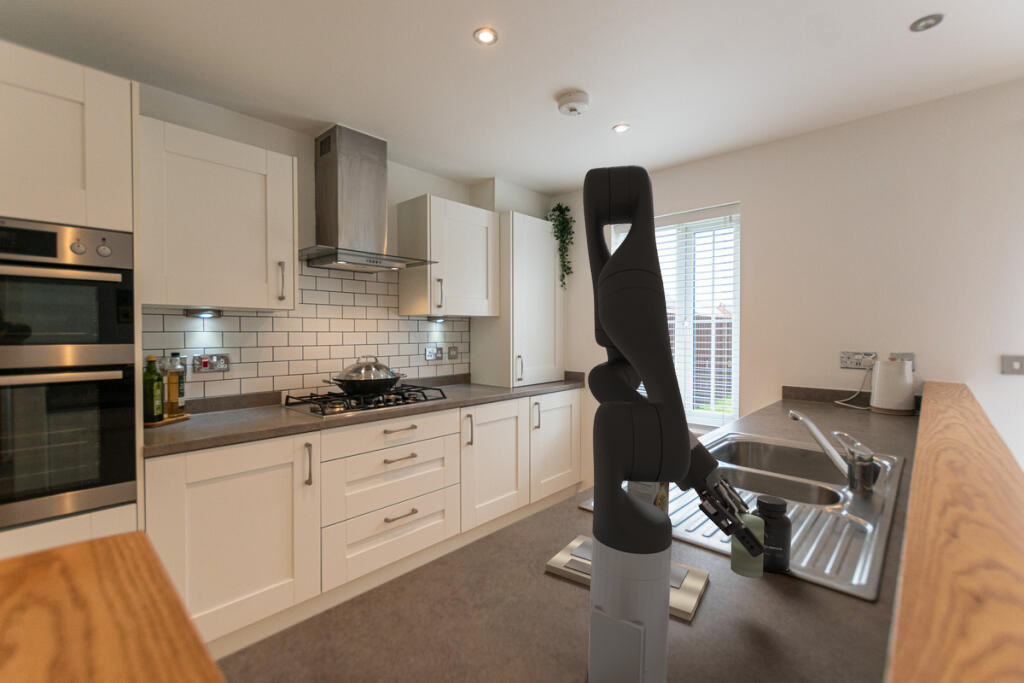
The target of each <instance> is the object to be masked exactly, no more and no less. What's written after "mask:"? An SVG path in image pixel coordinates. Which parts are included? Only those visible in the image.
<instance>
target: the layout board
mask: <svg viewBox="0 0 1024 683" xmlns="http://www.w3.org/2000/svg"><path fill="white" fill-rule="evenodd" d="M591 557H592V537H590V536H585V535H582V534H580V535H579V534H578V536H576V538H574V539H573V540H572V541H570V542H569V543H568V544H567V545H566V546H565V547H564V548H562V549H561V550H560V551H559V552H558V553H556V554H555V555H554V556H553V557H552V558H550V560H549V561H547V562H546V563H545V571H546V572H548V573H551V574H554V575H558V576H560V577H563V578H566V579H569V580H572V581H573V582H576V583H581V584H583V585H586V586H589V587H591ZM709 580H710V571H707V570H705V569H704V570H703V569H701V568H696V567H693V566H689V565H686V564H682V563H679V562H675V561H673V560H671V576H670V604H669V615H672V616H674V617H678V618H680V619H683V620H686V621H688V622H691V621H692V619H693V617H694V614H695V612H696V609H697V608H698V605H699V603H700V600H701V598H702V595H703V593H704V592H705V590H706V587H707V584H708V582H709Z"/></svg>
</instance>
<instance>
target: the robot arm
mask: <svg viewBox="0 0 1024 683" xmlns="http://www.w3.org/2000/svg"><path fill="white" fill-rule="evenodd" d="M653 192H654V191H653V182H652V178H651V175H650V172H649V170H648V169H647V168H646V167H645V166H643V165H639V164H638V165H635V164H633V165H619V166H607V167H605V166H604V167H594V168H591V169H589V170H587V172H586V174H585V176H584V180H583V188H582V202H583V203H582V205H583V217H584V218H583V219H584V227H585V228H584V229H585V237H586V244H587V246H586V247H587V254H588V263H589V268H590V275H591V282H592V291H593V311H594V312H593V313H594V314H593V317H594V318H593V320H594V321H593V322H594V340H595V342H596V344H597V345H598V346H600V347H602V348H605V351H606V355H607V361H604V362H601V363H598V364H597V365H595V366H594V367H593V368H591V369H590V370H589V372H588V376H587V385H588V388H589V390H590V393H591V395H592V396H593V398H594V400H596V401H597V402H598V404H599V406H598V407H597V409H596V412H595V413H594V416H593V428H592V454H593V456H592V457H593V506H592V507H593V508H592V509H593V510H592V532H591V533H592V534H591V535H592V536H591V538H592V557H591V586H589V589H590V592H589V594H590V595H589V596H590V598H589V620H588V621H589V622H588V623H589V624H588V625H589V627H588V656H587V657H588V662H587V669H588V670H587V674H588V677H587V683H667V682H668V676H667V675H668V663H669V662H668V658H669V655H668V654H669V652H668V651H669V630H670V629H669V627H670V624H669V623H670V614H669V604H670V576H671V561H672V553H673V552H672V550H673V545H672V542H673V524H672V519H671V518H670V516H669V514H668V515H667V514H666V513H665V512H664V511H663V510H662V509H660V508H658V507H657V506H655V505H653V504H650V503H648V502H645V501H643V500H641V499H638V498H636V497H634V496H632V495H631V494H629V493H628V492H627V490H625V489H624V488H623V487H622V486H623V482H627V481H636V482H659V483H669V484H672V483H675V485H676V486H677V487H678V489H679V490H680V491H681V492H687V491H689V490H690V489H693V490H694V491H695V493H696V494H697V496H698V497H699V500H700V502H701V503H699V504H698V508H699V510H700V512H702V513H703V514H704V515H705V516H706V517H707V518H708V519H709V520H710V521H711V522H712V523H713V524H714V525H715V526H716V527H717V528H718V529H719V530H720V531H722V533H723V534H725V536H727V537H730V536H731V535H732V536H735V537H736V538H737V539H738V540H739V541H740V543H741V544H742V545H743V546H744V547H745V548H746V550H747V551H748V552H749V553H750V554H751V555H752V556H753V557H757V556H759V555H760V554H762V553H763V552H764V551H765V546H764V545H763V544H762V543H761V542H760V541H759V540H758V538H757V537H756V536H755V535H754V534H753V533H752V532H751V530H750V529H749V528H748V527H747V526H746V524H745V523H744V522H743V520H742V519H741V518H740V516H739V515H738V513H744V514H750V515H751V512H750V511H749V510H750V507H749V505H748V504H747V503H746V501H744V499H743V498H742V497H741V495H740V494H739V493H738V492H737V490H736V489H735V487H734V486H733V485H732V484H731V482H730V481H729V480H728V479H729V478H726V477H725V476H724V477H723V478H721V479H720V478H719V477H718V476H717V475H715V473H713V472H714V471H715V470H716V469H718V467H719V466H720V465H719V461H718V459H717V458H715V456H714V455H713V454H712V453H711V451H709V449H708V448H706V446H705V445H704V444H703V443H702V442H701V441H700V440H699V438H697V436H696V435H695V434H694V432H692V431H691V430H690V429H689V426H688V420H687V416H686V411H685V406H684V403H683V397H682V393H681V389H680V384H679V380H678V377H677V372H676V368H675V363H674V357H673V353H672V352H673V351H672V343H671V340H670V339H671V338H670V328H669V321H668V311H667V300H666V294H665V287H664V280H663V276H662V270H661V265H660V259H659V252H658V247H657V240H656V227H655V226H656V225H655V224H656V223H655V211H654V210H655V209H654V193H653ZM611 225H613V226H614V225H630V228H629V230H628V233H627V234H626V235H625V238H624V239H623V240H622V242H621V243H620V244H619V246H618V247H617V248H616V249H615V251H614V252H613V253H612V254H611V252H610V250H609V247H608V244H607V242H606V238H605V237H606V236H605V229H604V227H605V226H611ZM641 384H642V385H643V387H644V390H645V393H646V396H645V395H643V394H642V393H640V392H639V391H638V390H639V388H640V386H641ZM767 538H768V536H767V534H766V533H765V532H764V542H765V541H767Z"/></svg>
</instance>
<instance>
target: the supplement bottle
mask: <svg viewBox="0 0 1024 683" xmlns="http://www.w3.org/2000/svg"><path fill="white" fill-rule="evenodd" d="M787 505H788V502H787V501H786V500H784V499H782V498H780V497H778V496H773V495H769V494H768V495H767V494H761V495H758V496H757V497H756V503H755V507H756V509H753V510H752V511H751V512H750V514H751V515H754V516H757V517H760V518H761V519H763V520H764V532H765V533H766V534H767V536H768V538H767V541H765V542H764V546H765V551H764V552H763V571H765V572H769V573H776V574H777V573H778V574H779V573H780V574H781V572H783V573H785V572H784V571H786V570H787V569H788V570H789V569H790V564H791V550H792V549H791V548H792V532H793V523H792V520H791V518H790V517H789V516H788V515H787V513H788V510H787V507H788V506H787ZM788 570H787V571H788ZM787 571H786V572H787Z"/></svg>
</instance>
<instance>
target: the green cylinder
mask: <svg viewBox="0 0 1024 683" xmlns="http://www.w3.org/2000/svg"><path fill="white" fill-rule="evenodd" d="M750 514H751V513H750ZM750 514H744V513H738V515H739V516H740V518H741V519H742V520H743V522H744V523H745V524H746V526H747V527H748V528H749V529H750V530H751V532H752V533H753V534H754V535H755V536H756V537H757V538H758V540H759V541H760V542H761V543H762V544H763V545H764V520H763V519H761V518H760V517H757V516H754V515H750ZM730 536H731V537H730V538H731V539H730V540H731V541H730V542H731V543H730V570H731V571H732V572H733V573H734V574H736V575H739V576H740V577H745V578H750V579H759V578H762V577H763V576H764V574H763V573H764V570H763V553H762V554H760V555H759V556H757V557H753V556H752V555H751V554H750V553H749V552H748V551H747V550H746V548H745V547H744V546H743V545H742V544H741V543H740V541H739V540H738V539H737V538H736V537H735V536H732V535H730Z"/></svg>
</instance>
